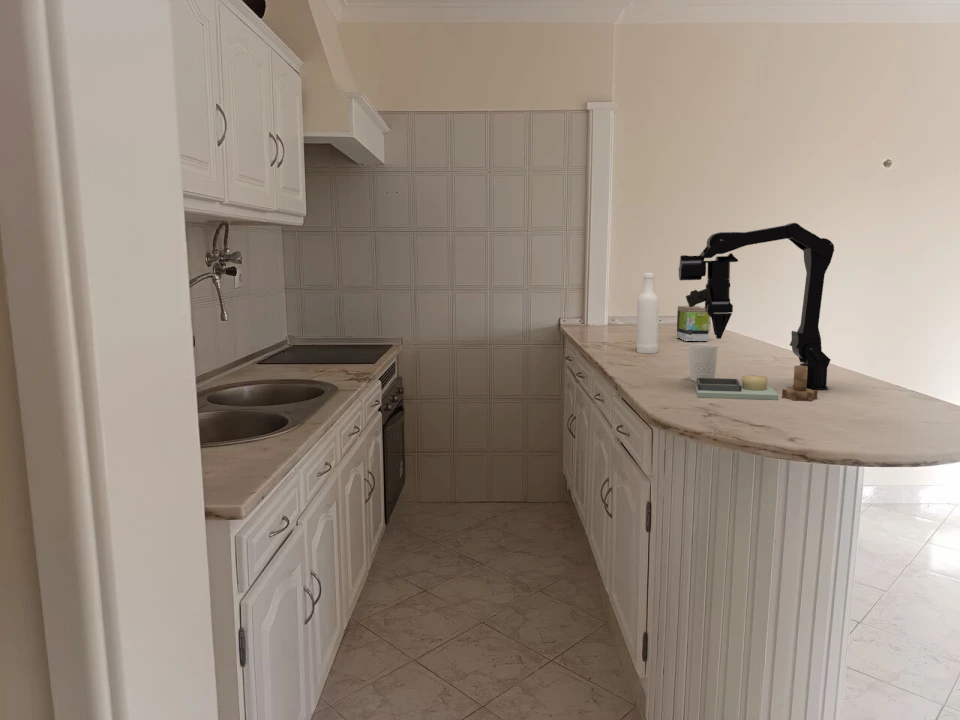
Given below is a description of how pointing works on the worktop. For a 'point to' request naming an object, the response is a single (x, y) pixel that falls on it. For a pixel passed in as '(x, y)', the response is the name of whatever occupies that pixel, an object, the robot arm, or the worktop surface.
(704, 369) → the white cup
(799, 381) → the planet gear
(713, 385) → the carrier plate
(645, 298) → the bottle
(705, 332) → the tea box
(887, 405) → the worktop surface
